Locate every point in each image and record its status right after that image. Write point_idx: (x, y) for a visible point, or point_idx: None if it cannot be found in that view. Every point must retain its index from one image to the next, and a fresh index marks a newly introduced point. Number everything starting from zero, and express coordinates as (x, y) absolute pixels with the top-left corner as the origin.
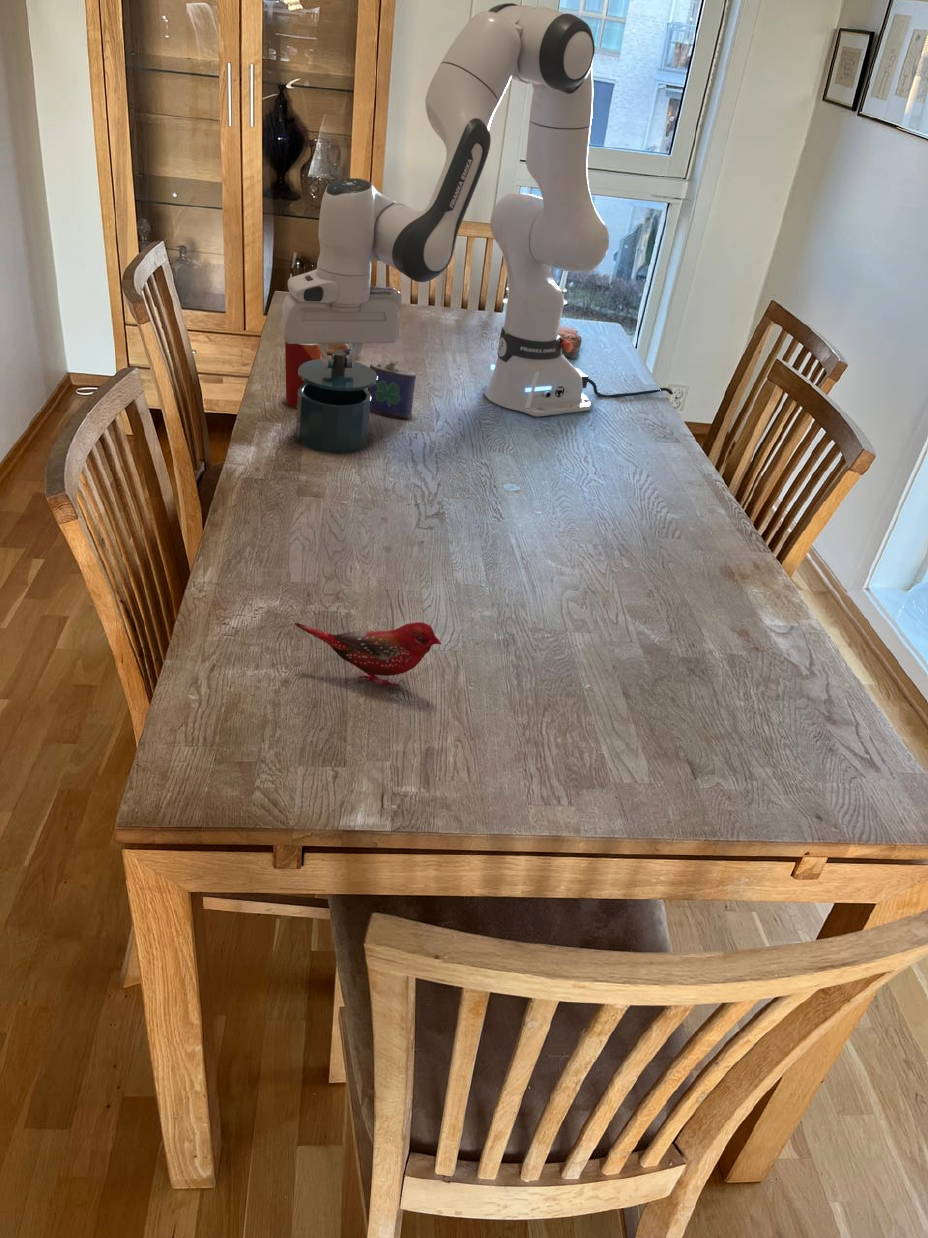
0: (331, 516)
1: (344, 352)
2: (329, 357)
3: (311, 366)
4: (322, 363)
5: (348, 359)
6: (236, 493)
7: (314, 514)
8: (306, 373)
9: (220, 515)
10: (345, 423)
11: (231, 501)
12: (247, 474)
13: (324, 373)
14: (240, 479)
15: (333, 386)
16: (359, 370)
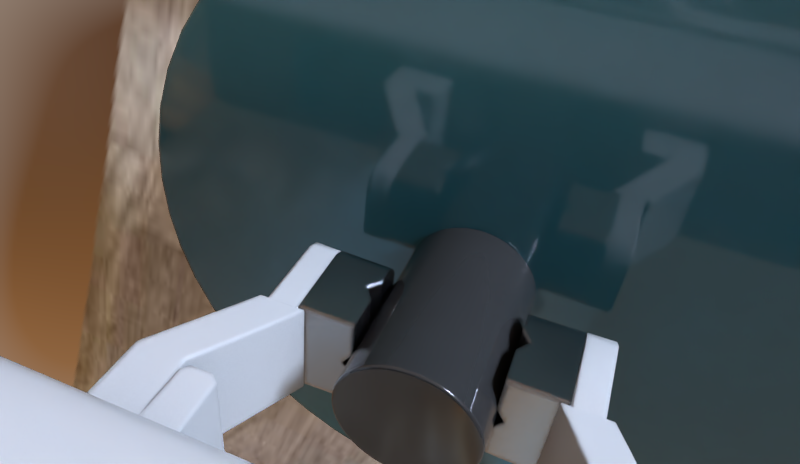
0: (316, 458)
1: (472, 441)
2: (318, 362)
3: (283, 74)
4: (310, 247)
5: (501, 451)
6: (115, 285)
7: (280, 435)
8: (210, 196)
9: (83, 343)
10: None
11: (104, 309)
12: (146, 211)
13: (349, 247)
14: (126, 228)
15: (334, 426)
16: (721, 320)
